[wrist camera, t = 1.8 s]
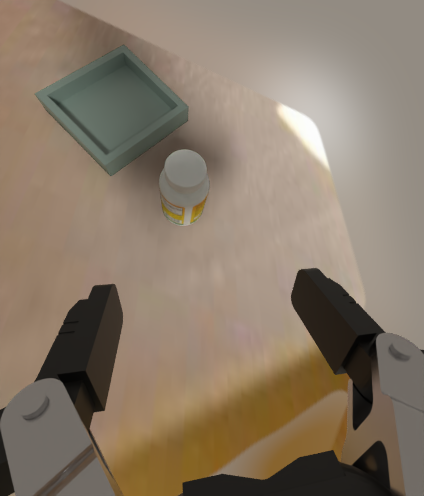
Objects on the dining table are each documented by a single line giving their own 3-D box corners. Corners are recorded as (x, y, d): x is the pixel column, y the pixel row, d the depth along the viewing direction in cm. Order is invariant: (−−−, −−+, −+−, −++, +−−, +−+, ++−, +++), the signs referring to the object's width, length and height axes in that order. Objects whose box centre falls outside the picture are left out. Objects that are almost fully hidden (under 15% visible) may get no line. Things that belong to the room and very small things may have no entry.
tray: (110, 176, 30) (105, 165, 28) (45, 109, 31) (34, 93, 28) (187, 120, 34) (188, 106, 31) (127, 62, 34) (124, 44, 32)
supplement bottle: (165, 229, 30) (160, 197, 20) (159, 191, 31) (152, 144, 21) (206, 223, 31) (218, 190, 21) (199, 187, 32) (208, 140, 22)
